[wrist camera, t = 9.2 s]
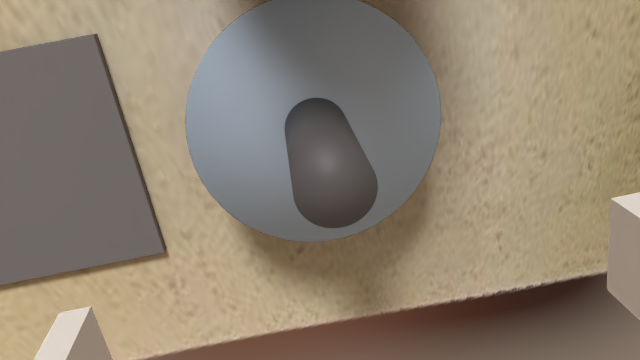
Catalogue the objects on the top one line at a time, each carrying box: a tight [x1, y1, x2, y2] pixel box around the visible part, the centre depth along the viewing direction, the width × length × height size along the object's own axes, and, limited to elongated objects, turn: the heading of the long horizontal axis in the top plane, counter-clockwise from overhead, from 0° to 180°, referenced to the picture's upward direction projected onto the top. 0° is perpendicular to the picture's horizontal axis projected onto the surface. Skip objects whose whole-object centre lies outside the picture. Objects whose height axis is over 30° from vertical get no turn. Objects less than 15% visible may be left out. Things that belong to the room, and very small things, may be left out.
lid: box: [185, 0, 441, 242], centre depth 25 cm, size 13×13×9 cm
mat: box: [0, 34, 166, 285], centre depth 33 cm, size 14×14×1 cm
